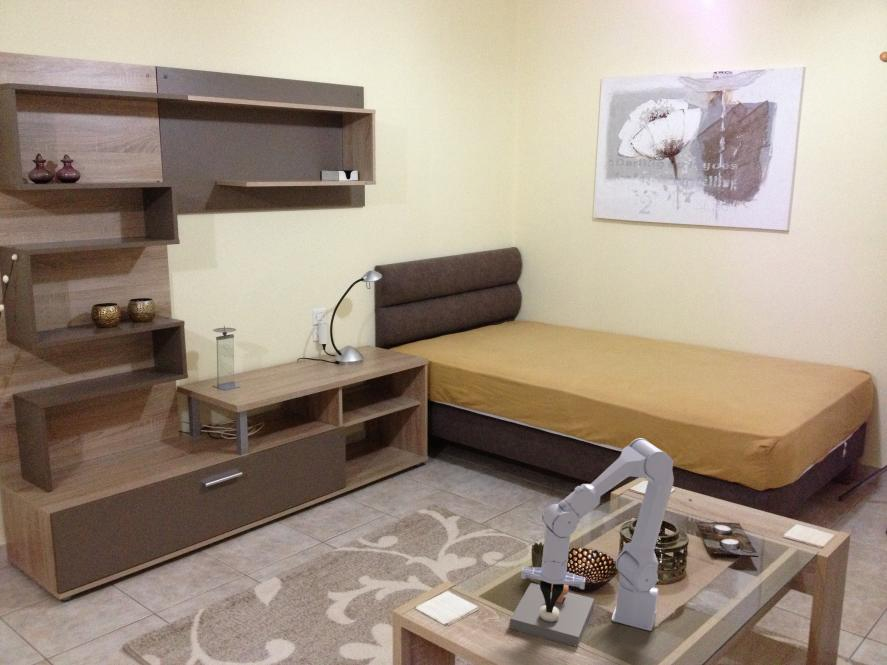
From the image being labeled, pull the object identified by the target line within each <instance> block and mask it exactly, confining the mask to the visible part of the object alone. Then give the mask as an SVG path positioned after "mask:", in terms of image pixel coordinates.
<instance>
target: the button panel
mask: <svg viewBox="0 0 887 665" xmlns="http://www.w3.org/2000/svg"><path fill="white" fill-rule="evenodd" d="M551 597H552V592H551ZM550 604H551V603H550ZM544 605H546V604H545V599H544V596H543V593H542V591H541V589H540V584H538V583H533V582H530V584H529V585H528V587H527V588H526V590H525V592H524V594H523V596H522V598H520V601H519V602H518V605H517V606H516V607H515V609H514V612H513V613H512V614H511V617H510V618H509V629H510V630H515V631H517V632H518V631H519V632H522V633H526V634H529V635H532V636H537V637H540V638H544V639H547V640H550V641H555V642H559V643H563V644H565V643H566V645H570V644H571V645H570V646H572V645H576V646H578V647H579V645H580V642H581V639H582V637H583V634H584V633H585V630H586V627H587V624H588V622H589V619H590V618H591V614H592V612H593V609H594V605H595V598H594V597H593V598H592V597H589V596H585V595H580V594H577V593H573V592H569V591H568V593H567V594H566V595H564V599H563V601H562V603H559V602H556V603H555V605H554V606H555V607H556V608H558V609H559V618H558V620H557V621H555V622H554V623H552V622H548V621H544V620H542V619H541V618H540V608H541V607H542V606H544ZM578 644H579V645H578ZM576 646H575V647H576Z"/></svg>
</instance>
